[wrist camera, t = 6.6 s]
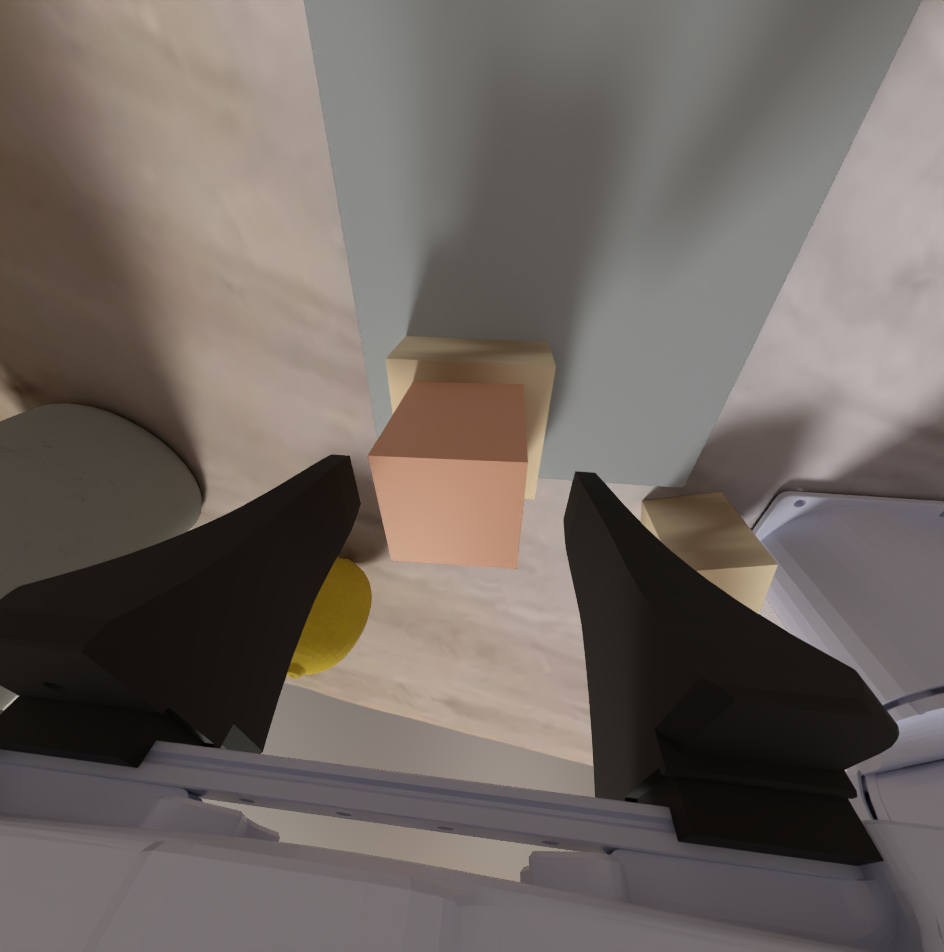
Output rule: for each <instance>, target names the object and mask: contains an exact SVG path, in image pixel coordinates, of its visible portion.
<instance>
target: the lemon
mask: <svg viewBox="0 0 944 952" xmlns="http://www.w3.org/2000/svg"><path fill="white" fill-rule="evenodd" d="M371 600H372V594H371V588H370V583H369V581H368V578H367V577H366V575H365V573H364V572H363V571H362V570H361V569H360V568H359V567H358V566H357V565H355V564H354V563H353V562H352V561H351V560H350V559H348V558H345V559H341V558H337V559H336V560H335V562H334V564H333V566H332V568H331V570H330V572H329V573H328V575H327V577H326V579H325V581H324V583H323V585H322V587H321V589H320V591H319V593H318V595H317V597H316V599H315V601H314V604H313V606H312V609H311V611H310V614H309V616H308V618H307V621H306V623H305V626H304V628H303V631H302V634H301V636H300V639H299V642H298V644H297V647H296V650H295V652H294V655H293V658H292V660H291V663H290V666H289V669H288V672H287V675H288V676H289V677H292V678H299V677H300V676H302V675H303V674H314V673H318V672H322V671H324V670H326V669H329V668H331V667H333V666H334V665H336V664H337V663H339V662H340V661H341V660H342V659H343V658H344V657H345V656H346V655H347V654H348V653H349V652H350V650H351V649H352V648H353V646H354V645H355V644H356V642H357V641H358V639H359V637H360V635H361V634H362V632H363V630H364V627H365V625H366V622H367V619H368V616H369V612H370V608H371Z"/></svg>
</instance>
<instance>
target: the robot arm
mask: <svg viewBox="0 0 944 952" xmlns="http://www.w3.org/2000/svg"><path fill="white" fill-rule="evenodd" d="M360 505H361V503H360V498H359V494H358V490H357V485H356V481H355V477H354V472H353V468H352V464H351V460H350V456H345V455H330V456H328V457H326V458H324V459H322V460H320V461H319V462H317V463H315V464H314V465H312V466H310V467H309V468H307V469H305V470H304V471H302V472H301V473H299V474H297V475H296V476H294V477H292V478H291V479H289V480H287V481H286V482H284V483H282V484H281V485H279V486H278V487H276V488H274V489H272V490H271V491H269V492H267V493H265V494H263V495H262V496H260V497H258V498H256V499H254V500H253V501H251V502H249V503H247V504H245V505H244V506H242V507H240V508H238V509H236V510H234V511H232V512H230V513H228V514H226V515H224V516H222V517H219V518H217V519H215V520H213V521H211V522H209V523H207V524H204V525H202V526H200V527H198V528H195V529H193V530H190V531H188V532H185V533H183V534H180V535H178V536H175V537H173V538H170V539H168V540H165V541H163V542H160V543H158V544H155V545H152V546H150V547H147V548H144V549H141V550H138V551H135V552H133V553H130V554H127V555H124V556H121V557H118V558H115V559H112V560H109V561H105V562H102V563H99V564H96V565H93V566H89V567H86V568H83V569H79V570H76V571H72V572H68V573H65V574H61V575H58V576H54V577H51V578H47V579H44V580H40V581H37V582H33V583H29V584H25V585H21V586H19V587H17V588H15V589H14V590H12V591H11V592H9V593H8V594H7V595H5V596H4V597H3V598H1V599H0V686H2V687H4V688H6V689H8V690H9V691H11V692H13V693H15V694H17V695H19V697H18V698H17V699H16V700H15V701H14V702H13V703H12V704H11V705H10V706H9V707H7V709H5V710H4V711H3V710H1V709H0V952H944V501H932V500H917V499H902V498H887V497H872V496H857V495H842V494H827V493H812V492H797V491H786V492H783V493H781V494H779V495H778V496H777V497H776V498H775V499H774V501H773V502H772V504H771V505H770V506H769V508H768V509H767V511H766V512H765V513H764V515H763V516H762V518H761V519H760V520H759V522H758V523H757V525H756V526H755V528H754V529H753V530H752V532H753V533H754V534H755V536H756V537H757V538H758V539H759V541H760V542H761V543H762V545H763V546H764V547H765V548H766V550H767V551H768V552H769V554H770V555H771V556H772V557H773V559H774V560H775V561H776V563H777V564H778V566H777V569H776V571H775V574H774V576H773V579H772V582H771V584H770V587H769V589H768V592H767V594H766V597H765V599H766V601H767V602H768V604H769V605H770V607H771V608H772V610H773V611H774V613H775V614H776V616H777V617H778V619H779V620H780V622H781V623H782V625H783V626H784V628H785V629H786V631H785V630H784V629H782V628H780V627H779V626H777V625H775V624H774V623H772V622H771V621H769V620H767V619H766V618H764V617H763V616H761V615H759V614H758V613H756V612H754V611H753V610H751V609H750V608H748V607H747V606H745V605H744V604H742V603H741V602H739V601H738V600H736V599H735V598H733V597H732V596H730V595H729V594H727V593H726V592H725V591H723V590H722V589H720V588H719V587H717V586H716V585H715V584H713V583H712V582H710V581H709V580H708V579H706V578H705V577H704V576H702V575H701V574H700V573H698V572H697V571H696V570H694V569H693V568H692V567H691V566H689V565H688V564H687V563H686V562H684V561H683V560H682V559H681V558H679V557H678V556H677V555H676V554H675V553H673V552H672V551H671V550H670V549H669V548H668V547H666V546H665V545H664V544H663V543H662V542H661V541H660V540H659V539H658V538H657V537H655V536H654V535H653V534H652V533H651V532H650V531H649V530H648V529H647V528H646V527H645V526H644V525H643V524H642V523H641V522H640V521H639V520H638V519H637V518H636V517H635V516H634V515H633V514H632V513H631V512H630V511H629V510H628V509H627V508H626V507H625V505H624V504H623V503H622V502H621V501H620V500H619V499H618V498H617V497H616V495H615V494H614V493H613V492H612V491H611V490H610V489H609V488H608V486H607V485H606V484H605V483H604V482H603V481H602V480H601V478H600V477H599V476H598V475H597V474H596V473H593V472H579V471H575V474H574V478H573V482H572V487H571V491H570V495H569V499H568V503H567V507H566V512H565V516H564V533H565V544H566V551H567V556H568V561H569V566H570V571H571V575H572V580H573V584H574V589H575V594H576V598H577V603H578V608H579V612H580V618H581V624H582V632H583V641H584V650H585V659H586V670H587V681H588V691H589V704H590V717H591V730H592V746H593V764H594V782H595V797H587V796H579V795H571V794H564V793H556V792H548V791H541V790H532V789H525V788H517V787H510V786H502V785H494V784H487V783H479V782H471V781H464V780H456V779H448V778H440V777H433V776H425V775H418V774H410V773H402V772H394V771H387V770H379V769H371V768H363V767H355V766H348V765H341V764H332V763H325V762H318V761H310V760H302V759H295V758H286V757H279V756H271V755H264V754H261V753H262V752H263V749H264V745H265V742H266V738H267V735H268V732H269V728H270V725H271V722H272V718H273V715H274V712H275V709H276V705H277V702H278V699H279V696H280V693H281V690H282V687H283V684H284V681H285V678H286V675H287V672H288V669H289V666H290V663H291V660H292V658H293V655H294V652H295V650H296V647H297V644H298V642H299V639H300V636H301V634H302V631H303V628H304V626H305V623H306V621H307V618H308V616H309V614H310V611H311V609H312V606H313V604H314V601H315V599H316V597H317V595H318V593H319V591H320V589H321V587H322V585H323V583H324V581H325V579H326V577H327V575H328V573H329V572H330V570H331V568H332V566H333V564H334V562H335V560H336V559H337V557H338V555H339V553H340V551H341V549H342V547H343V545H344V543H345V542H346V540H347V538H348V536H349V534H350V532H351V530H352V527H353V524H354V522H355V519H356V516H357V513H358V510H359V507H360ZM845 769H847V772H845V771H844V770H845ZM201 798H203V799H210V800H217V801H224V802H231V803H239V804H246V805H253V806H260V807H267V808H274V809H281V810H288V811H296V812H303V813H310V814H317V815H324V816H331V817H338V818H345V819H353V820H359V821H366V822H373V823H381V824H388V825H396V826H403V827H409V828H416V829H424V830H430V831H437V832H445V833H452V834H459V835H467V836H473V837H480V838H487V839H495V840H501V841H509V842H516V843H523V844H530V845H537V846H545V847H552V848H558V849H565V850H573V851H580V852H554V851H551V852H550V851H533V852H532V853H531V855H530V856H529V866H526V867H524V868H523V869H522V870H521V872H520V875H521V876H520V878H521V880H520V881H521V882H515V881H509V880H504V879H499V878H494V877H489V876H483V875H478V874H473V873H467V872H463V871H458V870H452V869H447V868H442V867H435V866H430V865H425V864H420V863H414V862H409V861H403V860H397V859H391V858H384V857H379V856H373V855H367V854H361V853H355V852H348V851H340V850H334V849H327V848H321V847H314V846H307V845H299V844H291V843H283V842H279V839H280V837H279V833H278V832H275V831H273V830H270V829H267V828H265V827H263V826H260V825H258V824H256V823H255V822H253V821H251V820H249V819H247V818H246V817H245V816H244V815H243V813H242V812H241V811H238V810H233V809H229V808H225V807H221V806H217V805H212V804H208V803H205V802H202V799H201Z"/></svg>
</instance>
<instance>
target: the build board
mask: <svg viewBox="0 0 944 952" xmlns="http://www.w3.org/2000/svg"><path fill="white" fill-rule="evenodd" d="M921 1H922V0H304V4H305V10H306V16H307V22H308V28H309V34H310V40H311V46H312V52H313V58H314V64H315V70H316V76H317V82H318V87H319V93H320V99H321V105H322V111H323V117H324V123H325V129H326V135H327V141H328V147H329V153H330V159H331V165H332V171H333V177H334V182H335V188H336V194H337V200H338V206H339V212H340V218H341V224H342V230H343V236H344V242H345V248H346V254H347V260H348V266H349V272H350V277H351V283H352V289H353V295H354V301H355V307H356V313H357V319H358V325H359V331H360V337H361V343H362V349H363V355H364V361H365V367H366V372H367V378H368V384H369V390H370V396H371V402H372V408H373V414H374V420H375V426H376V432H377V438H379V436H380V435H381V433H382V432H383V430H384V428H385V427H386V425H387V423H388V422H389V420H390V418H391V417H392V415H393V413H392V406H391V398H390V390H389V383H388V375H387V368H386V360H385V358H386V357H387V356H388V355H389V354H390V353H391V352H392V351H393V350H394V348H395V347H396V346H397V345H398V344H399V343H400V342H401V341H402V340H403V339H404V337H405V336H419V337H443V338H466V339H489V340H513V341H536V342H549V345H550V349H551V352H552V355H553V359H554V362H555V365H556V369H555V375H554V381H553V388H552V394H551V400H550V406H549V412H548V418H547V424H546V431H545V437H544V443H543V449H542V455H541V461H540V467H539V474H538V478H546V479H561V480H573V478H574V474H575V471H579V472H593V473H596V474H597V475H598V476H599V477H600V478H601V480H602V481H603V482H605V483H620V484H634V485H649V486H664V487H679V488H684V486H685V484H686V482H687V480H688V478H689V476H690V474H691V472H692V470H693V468H694V466H695V464H696V462H697V460H698V458H699V456H700V454H701V452H702V449H703V447H704V445H705V443H706V441H707V439H708V437H709V435H710V433H711V431H712V429H713V427H714V425H715V423H716V421H717V419H718V417H719V415H720V413H721V411H722V409H723V406H724V404H725V402H726V400H727V398H728V396H729V394H730V392H731V390H732V388H733V386H734V384H735V382H736V380H737V378H738V376H739V374H740V372H741V370H742V368H743V366H744V363H745V361H746V359H747V357H748V355H749V353H750V351H751V349H752V347H753V345H754V343H755V341H756V339H757V337H758V335H759V333H760V331H761V329H762V327H763V325H764V323H765V320H766V318H767V316H768V314H769V312H770V310H771V308H772V306H773V304H774V302H775V300H776V298H777V296H778V294H779V292H780V290H781V288H782V286H783V284H784V282H785V280H786V277H787V275H788V273H789V271H790V269H791V267H792V265H793V263H794V261H795V259H796V257H797V255H798V253H799V251H800V249H801V247H802V245H803V243H804V241H805V239H806V237H807V234H808V232H809V230H810V228H811V226H812V224H813V222H814V220H815V218H816V216H817V214H818V212H819V210H820V208H821V206H822V204H823V202H824V200H825V198H826V196H827V194H828V191H829V189H830V187H831V185H832V183H833V181H834V179H835V177H836V175H837V173H838V171H839V169H840V167H841V165H842V163H843V161H844V159H845V157H846V155H847V153H848V151H849V148H850V146H851V144H852V142H853V140H854V138H855V136H856V134H857V132H858V130H859V128H860V126H861V124H862V122H863V120H864V118H865V116H866V114H867V112H868V110H869V108H870V105H871V103H872V101H873V99H874V97H875V95H876V93H877V91H878V89H879V87H880V85H881V83H882V81H883V79H884V77H885V75H886V73H887V71H888V69H889V67H890V64H891V62H892V60H893V58H894V56H895V54H896V52H897V50H898V48H899V46H900V44H901V42H902V40H903V38H904V36H905V34H906V32H907V30H908V28H909V26H910V24H911V21H912V19H913V17H914V15H915V13H916V11H917V9H918V7H919V5H920V3H921Z"/></svg>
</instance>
